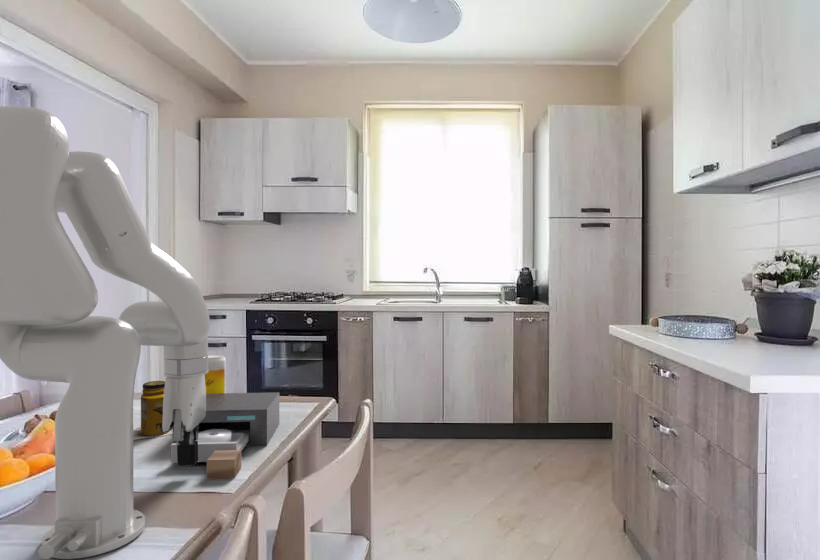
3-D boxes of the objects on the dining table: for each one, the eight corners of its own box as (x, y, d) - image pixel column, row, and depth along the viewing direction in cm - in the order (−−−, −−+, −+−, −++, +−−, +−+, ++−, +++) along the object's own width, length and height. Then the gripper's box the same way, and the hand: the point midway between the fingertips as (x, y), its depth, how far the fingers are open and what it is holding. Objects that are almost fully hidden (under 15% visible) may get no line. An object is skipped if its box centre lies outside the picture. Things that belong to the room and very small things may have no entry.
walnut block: (234, 478, 93) (234, 459, 93) (206, 479, 93) (206, 460, 93) (241, 467, 98) (241, 449, 98) (214, 468, 98) (214, 450, 98)
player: (266, 445, 111) (266, 409, 111) (172, 448, 109) (172, 411, 109) (279, 424, 127) (279, 392, 127) (197, 425, 125) (197, 393, 125)
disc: (226, 448, 103) (226, 438, 103) (190, 449, 102) (190, 439, 102) (235, 437, 110) (235, 428, 110) (201, 438, 109) (201, 429, 109)
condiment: (173, 434, 119) (172, 383, 119) (132, 441, 114) (131, 388, 114) (168, 426, 125) (168, 378, 125) (129, 432, 120) (129, 382, 120)
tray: (236, 460, 99) (236, 443, 99) (170, 462, 98) (170, 444, 98) (254, 435, 115) (253, 419, 115) (198, 436, 114) (197, 421, 114)
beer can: (201, 409, 141) (201, 355, 140) (225, 406, 143) (224, 354, 143) (202, 414, 135) (202, 358, 135) (227, 412, 138) (226, 357, 137)
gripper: (180, 358, 100) (181, 449, 101) (147, 375, 86) (149, 481, 86) (218, 358, 101) (220, 448, 102) (193, 374, 86) (195, 480, 87)
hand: (187, 463), depth 94 cm, fingers closed
